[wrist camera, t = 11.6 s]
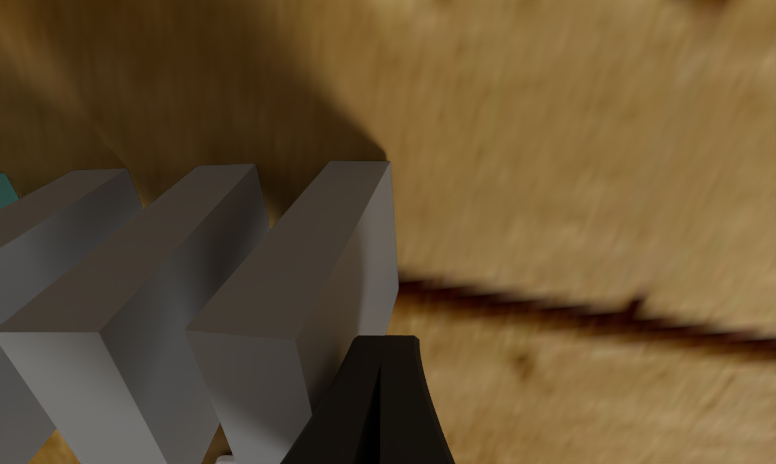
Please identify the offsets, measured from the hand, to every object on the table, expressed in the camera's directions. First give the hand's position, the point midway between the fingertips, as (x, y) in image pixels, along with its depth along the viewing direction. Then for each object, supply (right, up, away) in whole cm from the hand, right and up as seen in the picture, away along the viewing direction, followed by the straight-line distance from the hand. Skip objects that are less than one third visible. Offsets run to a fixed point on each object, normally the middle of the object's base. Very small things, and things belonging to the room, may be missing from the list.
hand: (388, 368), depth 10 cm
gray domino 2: (-1, +3, +6) cm, 6 cm away
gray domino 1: (-5, +3, +6) cm, 9 cm away
